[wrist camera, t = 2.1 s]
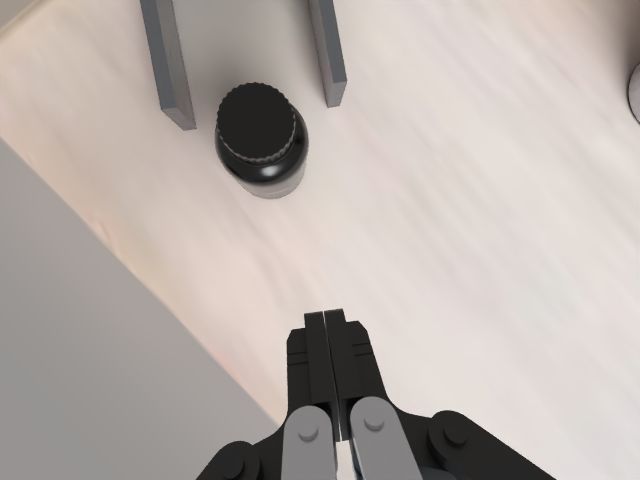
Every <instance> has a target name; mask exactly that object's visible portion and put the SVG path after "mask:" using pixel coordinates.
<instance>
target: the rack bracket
mask: <svg viewBox="0 0 640 480" xmlns="http://www.w3.org/2000/svg"><path fill="white" fill-rule="evenodd" d="M308 1H309V7H310V12H311V18H312V23H313V29H314V34H315V40H316V45H317V51H318V56H319V62H320V67H321V73H322V79H323V84H324V90H325V95H326V101H327V106H328V108H330V107H336V106H340V103H341V100H342V97H343V93H344V90H345V87H346V84H347V77H346V72H345V66H344V60H343V55H342V49H341V44H340V38H339V33H338V27H337V22H336V16H335V10H334V5H333V0H308ZM140 3H141V8H142V13H143V18H144V23H145V29H146V34H147V39H148V44H149V49H150V54H151V60H152V65H153V70H154V75H155V80H156V86H157V91H158V96H159V101H160V106H161V110H162V111H163V112H164V113H165V114H166V115H167V116H168V117H170V118H171V119H172V120H173V121H174V122H175V123H176V124H177V125H178V126H179V127H180V128H181V129H183V130H184V131H185V130H191V129H196V124H195V119H194V114H193V109H192V103H191V98H190V93H189V88H188V83H187V77H186V72H185V67H184V62H183V56H182V51H181V46H180V41H179V35H178V30H177V25H176V20H175V14H174V9H173V4H172V0H140Z"/></svg>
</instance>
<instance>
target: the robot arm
mask: <svg viewBox="0 0 640 480" xmlns="http://www.w3.org/2000/svg"><path fill="white" fill-rule="evenodd" d="M629 101H630V105H631V108H632V111H633V113H634V115H635V116H636V118H637V120H638V121H639V122H640V63H639V64H638V66H637V67H636V68H635V70H634V72H633V74H632V76H631V80H630V84H629ZM324 318H325V323H324ZM304 319H305V328H300V329H293V330H291V333H290V335H289V337H288V339H287V382H288V412H287V416H286V419H285V421H284V423H283V424H282V426H281V427H280V428H279V429H278V430H277V431H276V432H275V433H274V434H272V435H271V436H269V437H267V438H266V439H263V440H262V441H260V442H258V443H256V444H254V445H251V444H250V443H248V442H245V441H235V442H232V443H229V444H227V445H226V446H224V447H223V448H222V449H220V450H219V451H218V453H217V454H216V455H215V456H214V457H213V458H212V460H211V461H210V462H209V463H208V465H207V466H206V467H205V469H204V470H203V471H202V472H201V474H200V475H199V476H198V477H197V479H196V480H337V474H336V473H337V468H338V462H337V451H336V442H340V432H339V424H340V430H341V436H342V441H345V440H349V444H350V449H351V455H352V467H353V471H354V476H355V480H556V479H555V478H553V477H552V476H550V475H549V474H548V473H546V472H545V471H543V470H542V469H540V468H539V467H538V466H536V465H535V464H533V463H532V462H530V461H529V460H527V459H526V458H525V457H523V456H522V455H520V454H519V453H517V452H516V451H515V450H513V449H512V448H510V447H509V446H507V445H506V444H505V443H503V442H502V441H500V440H499V439H497V438H496V437H494V436H493V435H492V434H490V433H489V432H487V431H486V430H484V429H483V428H482V427H480V426H479V425H477V424H476V423H474V422H473V421H472V420H470V419H469V418H467V417H466V416H464V415H462V414H460V413H458V412H455V411H450V410H444V411H440V412H438V413H436V414H435V415H434V416H433V417H432V418H429V417H423V416H418V415H413V414H409V413H406V412H404V411H402V410H400V409H399V408H397V407H396V406H395V405H394V404H393V403H392V402H391V401H390V399H389V398H388V396H387V394H386V391H385V388H384V385H383V381H382V378H381V375H380V372H379V368H378V365H377V362H376V359H375V355H374V352H373V349H372V346H371V343H370V339H369V336H368V333H367V330H366V329H365V328H364V327H363V325H362V324H361V323H360V322H359V321H351V322H346V320H345V316H344V312H343V309H335V310H328V311H324V317H323V311H321V312H313V313H306V314H304ZM338 417H339V419H338Z"/></svg>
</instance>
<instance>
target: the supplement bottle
mask: <svg viewBox="0 0 640 480" xmlns="http://www.w3.org/2000/svg"><path fill="white" fill-rule="evenodd" d="M217 115H218V118H217V125H216V129H215V148H216V151H217V154H218V157H219V159H220V161H221V163H222V164H223V166H224V167H225V169H226V170H227V171H228V172H229V173H230V174H231V175H232V176H233V177H234V178H235V179H236V180H237V181H238V182H239V183H240V184H241V185H242V186H243V187H244V188H245V189H246V190H247V191H248V192H250V193H251V194H253V195H255V196H257V197H260V198H264V199H277V198H281V197H284V196H286V195H288V194H290V193H291V192H292V191H293V190H295V189H296V187H297V186H298V185H299V183H300V182H301V180H302V178H303V175H304V171H305V166H306V160H307V154H308V147H309V138H308V131H307V127H306V124H305V122H304V120H303V118H302V116H301V114H300V113H299V112H298V110H297V109H296V108H295V107H294V106H293V105H292V104H291V103H289V101H288V99H286V98H285V97H284V95H283V94H282V93H280V92H279V91H278V90H277V89H275V88H273V87H272V86H270V85H265V84H264V83H260V84H259V83H256V82H254V83H246V84H245V85H239V86H238V87H237V88H233V89H232V91H231V92H229V93H227V96H226V97H225V98H223V100H222V103H221V104H220V105H219V111H218V112H217Z"/></svg>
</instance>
